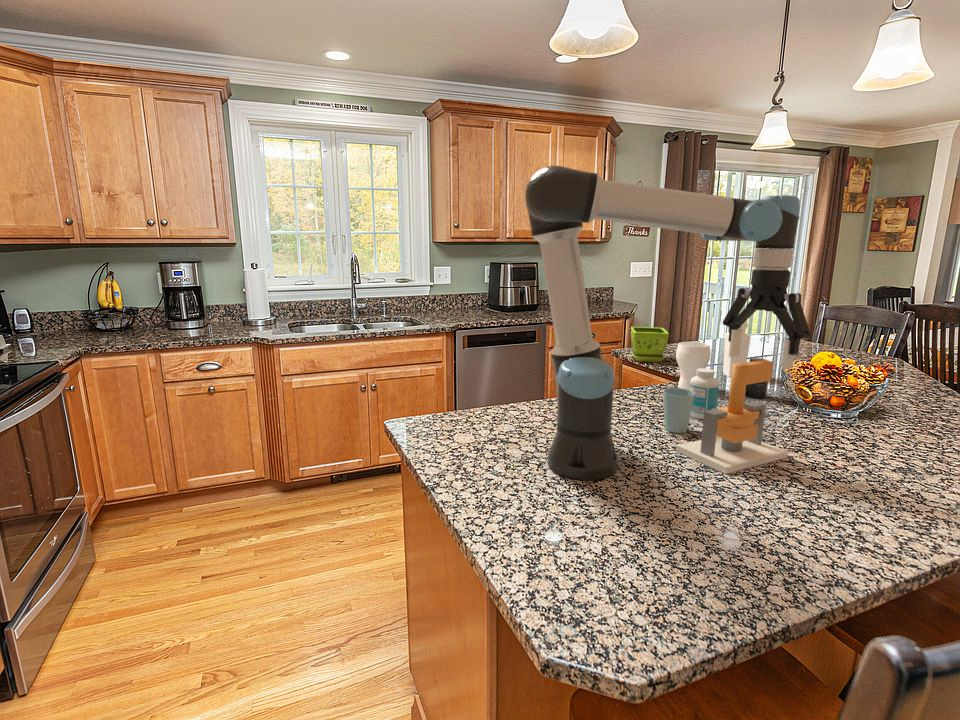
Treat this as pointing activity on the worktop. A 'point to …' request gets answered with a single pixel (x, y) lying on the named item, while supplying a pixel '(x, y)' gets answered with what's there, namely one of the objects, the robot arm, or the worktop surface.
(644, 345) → the flower pot
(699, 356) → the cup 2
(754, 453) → the base
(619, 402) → the worktop surface
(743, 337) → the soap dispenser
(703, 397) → the pill bottle
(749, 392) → the supplement bottle
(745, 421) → the lever handle
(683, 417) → the cup
